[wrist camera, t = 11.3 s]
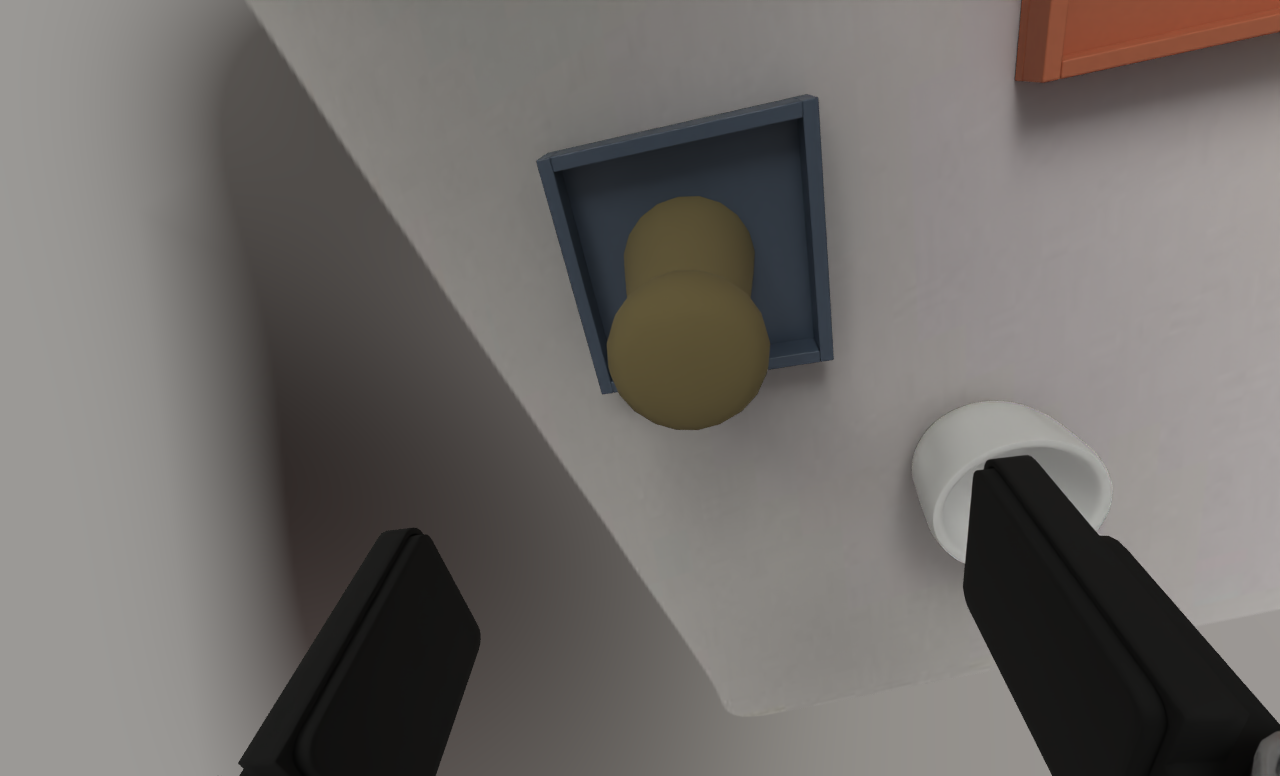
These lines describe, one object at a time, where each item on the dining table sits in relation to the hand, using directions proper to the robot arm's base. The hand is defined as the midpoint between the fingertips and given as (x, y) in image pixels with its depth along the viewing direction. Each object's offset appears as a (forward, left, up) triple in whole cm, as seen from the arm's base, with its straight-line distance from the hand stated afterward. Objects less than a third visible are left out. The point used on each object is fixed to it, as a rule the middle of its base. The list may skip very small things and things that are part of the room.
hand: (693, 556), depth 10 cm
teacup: (+13, -14, -20) cm, 28 cm away
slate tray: (0, 0, -19) cm, 19 cm away
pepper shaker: (0, -1, -19) cm, 19 cm away
